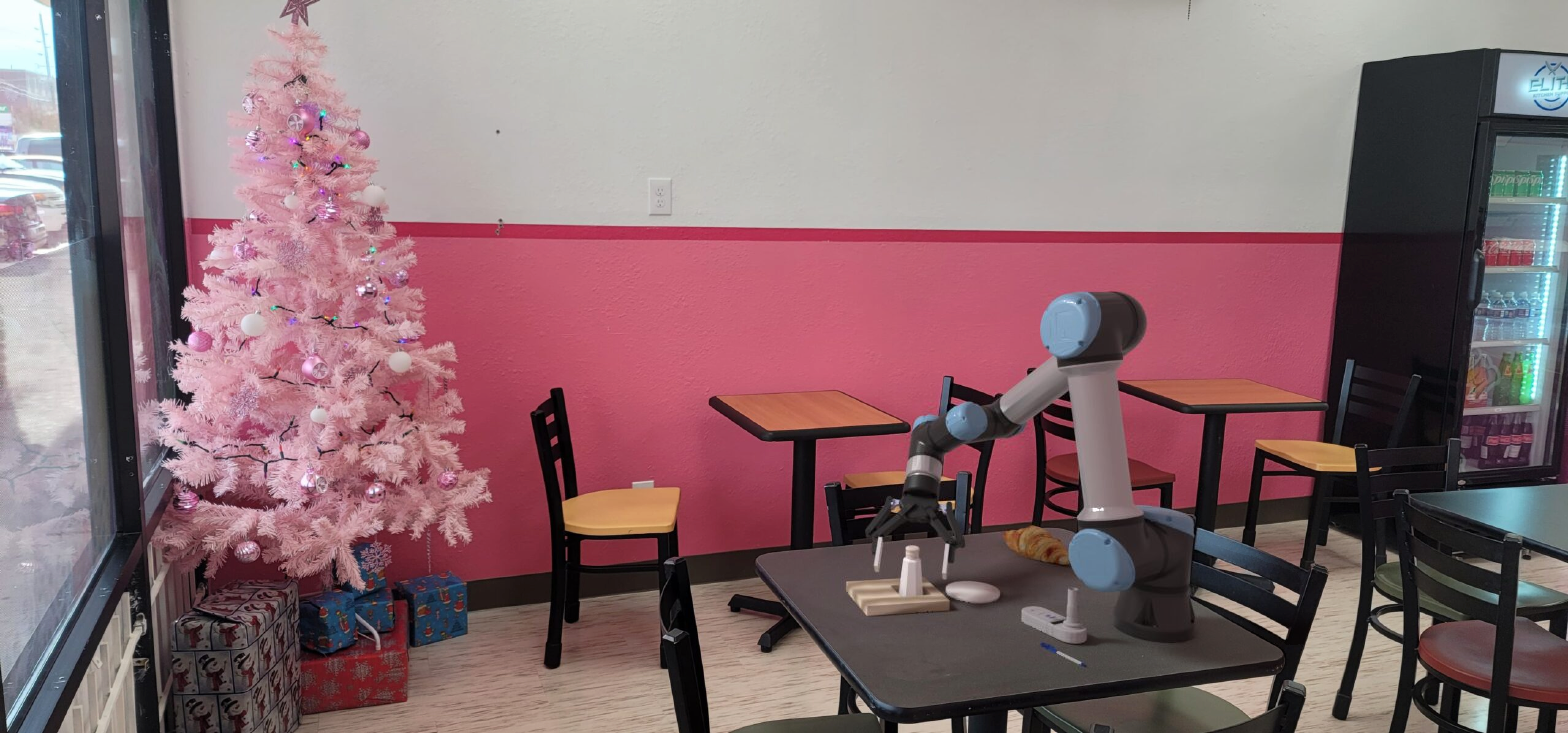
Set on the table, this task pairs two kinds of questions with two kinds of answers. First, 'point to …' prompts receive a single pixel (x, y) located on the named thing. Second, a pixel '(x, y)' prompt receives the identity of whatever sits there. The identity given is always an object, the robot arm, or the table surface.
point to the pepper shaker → (911, 573)
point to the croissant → (1037, 545)
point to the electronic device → (1058, 621)
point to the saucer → (972, 592)
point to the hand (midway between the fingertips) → (909, 572)
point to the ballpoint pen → (1061, 653)
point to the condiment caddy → (894, 597)
